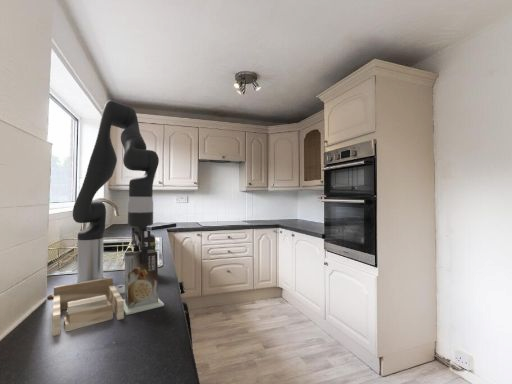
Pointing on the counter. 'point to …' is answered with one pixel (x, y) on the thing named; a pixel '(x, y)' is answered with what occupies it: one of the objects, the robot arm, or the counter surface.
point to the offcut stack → (87, 312)
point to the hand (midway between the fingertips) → (140, 261)
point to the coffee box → (141, 279)
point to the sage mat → (142, 307)
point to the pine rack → (85, 297)
